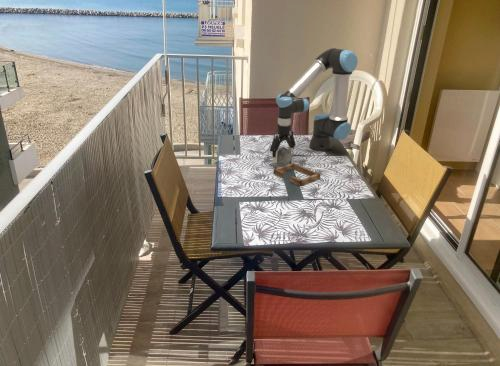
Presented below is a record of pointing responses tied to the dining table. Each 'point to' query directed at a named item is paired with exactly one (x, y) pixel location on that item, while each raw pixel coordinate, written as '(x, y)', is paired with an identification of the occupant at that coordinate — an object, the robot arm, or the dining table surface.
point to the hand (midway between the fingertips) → (282, 160)
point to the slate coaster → (278, 165)
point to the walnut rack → (312, 174)
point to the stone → (283, 156)
